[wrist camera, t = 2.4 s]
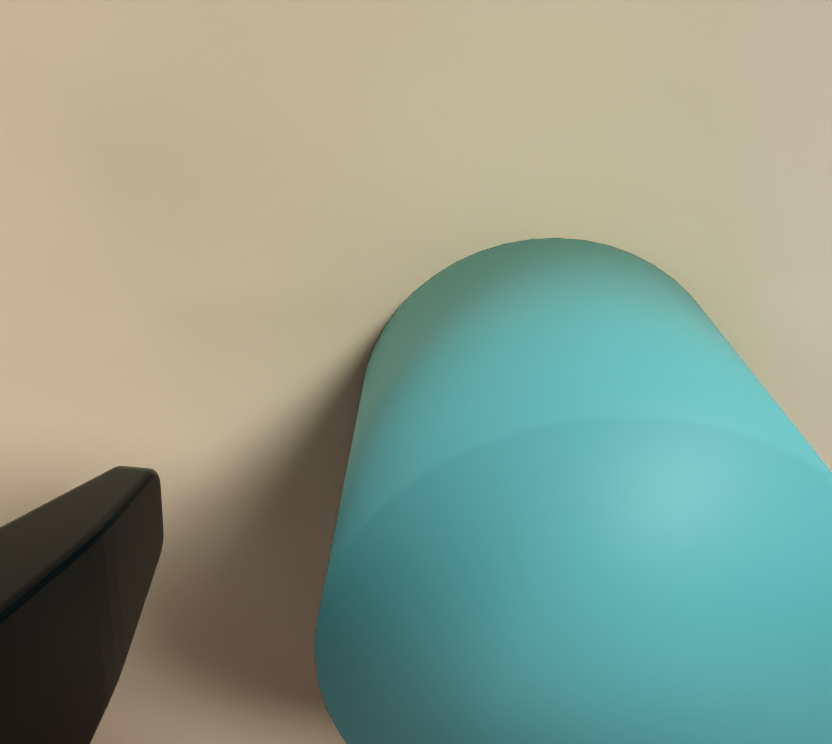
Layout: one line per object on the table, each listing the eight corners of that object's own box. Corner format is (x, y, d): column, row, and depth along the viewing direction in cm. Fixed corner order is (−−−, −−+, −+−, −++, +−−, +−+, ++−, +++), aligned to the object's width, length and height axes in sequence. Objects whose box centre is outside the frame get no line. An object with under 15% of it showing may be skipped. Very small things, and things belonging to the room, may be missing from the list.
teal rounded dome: (760, 499, 11) (933, 781, 7) (438, 594, 12) (437, 889, 8) (675, 177, 9) (850, 323, 5) (300, 318, 10) (211, 531, 6)
